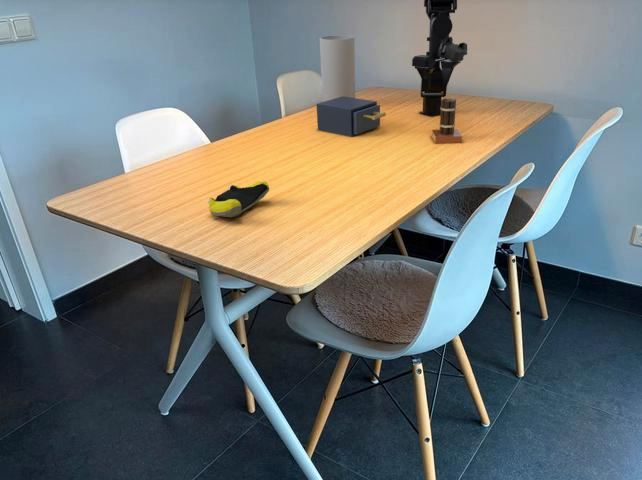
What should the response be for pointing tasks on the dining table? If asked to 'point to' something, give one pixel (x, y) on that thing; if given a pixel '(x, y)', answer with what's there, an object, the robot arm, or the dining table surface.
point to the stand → (446, 137)
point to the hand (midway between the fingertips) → (436, 87)
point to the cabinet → (340, 114)
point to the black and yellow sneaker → (237, 199)
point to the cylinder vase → (337, 66)
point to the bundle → (447, 116)
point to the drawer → (366, 118)
